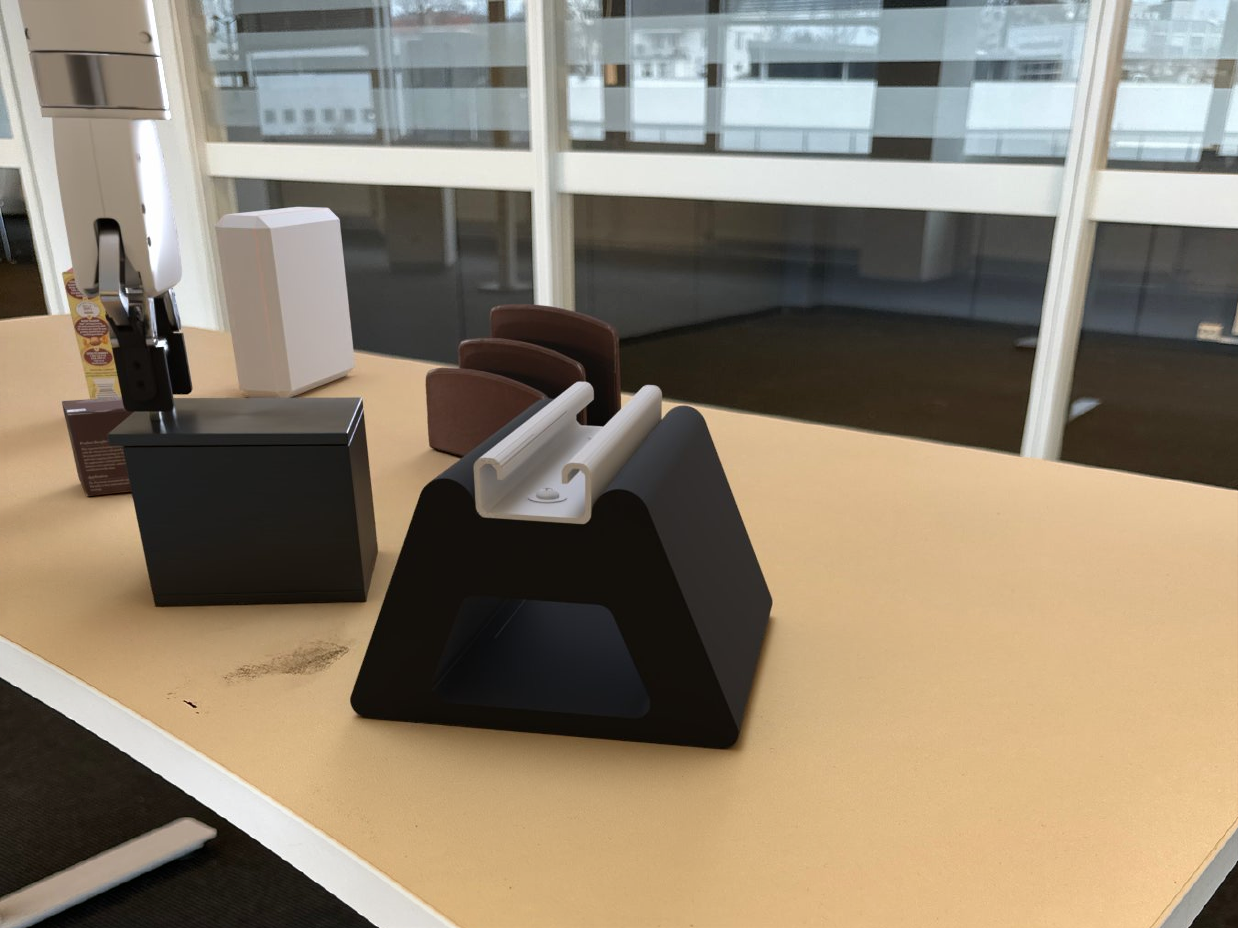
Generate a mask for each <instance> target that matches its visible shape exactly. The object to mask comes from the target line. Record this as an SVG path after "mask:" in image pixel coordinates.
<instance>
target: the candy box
mask: <svg viewBox="0 0 1238 928" xmlns="http://www.w3.org/2000/svg"><path fill="white" fill-rule="evenodd" d="M61 276H62V280H63V285H64V291H65V294H66V298H67V302H68V303H67V304H68V307H69V312H70V317H71V321H72V325H73V330H74V334H75V338H76V342H77V346H78V351H79V355H80V359H81V363H82V364H81V365H82V368H83V373H84V378H85V382H86V387H87V390H88V394H89V399H102V398H117V397H122V396H121V391H120V386H119V381H118V376H117V371H116V366H115V361H114V356H113V351H112V345H111V342H110V338H109V330H108V321H107V320H106V317H105V314H106V312H105V311H106V310H105V308H104V306H103V304H102V302H101V300H100V296H96V297H86V296H84V295H83V294H82V293H81V292H80V291H79V290H78V288H77V287H76V283H75V278H74V273H73V267H71V268H69V269H67V270H65V271H62V272H61Z"/></svg>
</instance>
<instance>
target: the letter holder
mask: <svg viewBox="0 0 1238 928" xmlns="http://www.w3.org/2000/svg"><path fill="white" fill-rule="evenodd" d="M489 331H490V337H476V338H467V339H463V340H461V341H460V343H459V345H458V348H457V354H458V356H457V357H458V367H437V368H432V369H430V370H428V371H427V373H426V375H425V384H424V385H425V395H426V397H425V398H426V400H425V402H426V415H427V417H426V419H427V420H426V422H427V435H428V446H429V447H430V448H431V449H434V450H437V451H440V452H444V453H447V454H451V455H454V456H458V457H461V458H463V457H464V456H465V455H467V454H468V453H469V452H471V451H472V450H473V449H475V448H476V447H477V446H479V445H480V444H481V443H482V442H484V441H485V440H486V439H488V438H489V437H490V436H492V435H493V434H494V433H496V432H497V431H498V430H500V429H501V428H502V427H504V426H505V425H506V424H508V423H509V422H510V421H512V420H513V419H514V418H516V417H517V416H518V415H520V414H521V413H522V412H524V411H525V410H526V409H528V408H529V407H530V406H532V405H533V404H534V403H536V402H537V401H539V400H541V399H546V398H550V399H556V398H557V397H558V396H559V395H561V394H562V393H563V392H565V391H566V390H567V389H568V388H570V387H571V386H572V385H573V384H575V383H576V382H588V383H589V384H591V386H592V387H593V390H594V400H592V401H591V402H590V403H589V404H588V405H587V406H586V407H585V408H583V409H582V410H581V411H580V412H579V413H578V414H577V415H576V421H577V422H578V423H579V424H580V425H583V426H602V427H604V426H605V425H606V424H607V423H608V422H609V421H610V420H611V419H612V418H613V417H614V416H615V415H616V414H617V413H618V412H619V411H620V410H621V409H622V386H621V385H622V384H621V369H620V339H619V334H618V330H617V328H616V327H615V326H613V324H610V323H609V322H607V321H604V320H601V319H599V318H596V317H595V316H592V315H588V314H585V313H583V312H578V311H574V310H570V309H565V308H561V307H557V306H551V305H544V304H543V305H542V304H529V303H511V304H510V303H509V304H499V305H495V306H493V307H492V308H491V309H490V312H489Z"/></svg>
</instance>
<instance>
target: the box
mask: <svg viewBox="0 0 1238 928" xmlns="http://www.w3.org/2000/svg"><path fill="white" fill-rule="evenodd" d="M61 406H62V410H63V416H64V419H65V423H66V429H67V432H68V437H69V441H70V445H71V449H72V453H73V458H74V464H75V469H76V473H77V476H78V480H79V482H80V484H81V486H82V488H83V491H84V492H85V495H86V496H87V497H93V496H100V495H107V494H108V495H110V494H119V493H120V494H121V493H127V492H131V487H130V482H129V477H128V472H127V467H126V462H125V457H124V453H123V447H124V446H110V445H109V441H108V436H107V435H108V433H110V432H111V431H112V430H113V429H114V428H116V427H117V426H118V425H119V424H120V423H122V422H123V421H124V420H125V419H126V418H128V417H129V416H130V415H131V414H132V413H134V412H129V411H127V410H126V409H125V408H124V406H123V401H122V397H117V398H102V399H90V398H88V399H73V400H72V399H71V400H70V399H69V400H62V401H61Z"/></svg>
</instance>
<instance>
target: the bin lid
mask: <svg viewBox="0 0 1238 928" xmlns="http://www.w3.org/2000/svg"><path fill="white" fill-rule="evenodd" d="M157 336H158V346H164V348H165V353H166V359H167V358H168V357H169V356H170V355H171V353H172V344H171V341H170V340H169V338H168V337H167V336H166V335H164V334H162V333H160V332H157ZM173 398H174V403H175V406H174V408H173V409H172V410H171V411H168V412H134V413H132V414H131V415H130V416H129V417H128V418H126V419H125V420H124V421H123V422H122V423H120V424H119V425H118V426H117V427H116V428H114V429H113V430H112V431H111V432H110V433H108V435H107V436H108V441H109V445H110V446H230V445H348V444H349V441H350V439H351V437H352V434H353V432H354V429H355V427H356V424H357V422H358V419H359V417H360V414H361V412H362V410H364V399H363V397H359V396H357V397H356V396H355V397H354V396H353V397H352V396H351V397H347V396H346V397H345V396H344V397H291V398H250V397H173Z"/></svg>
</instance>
